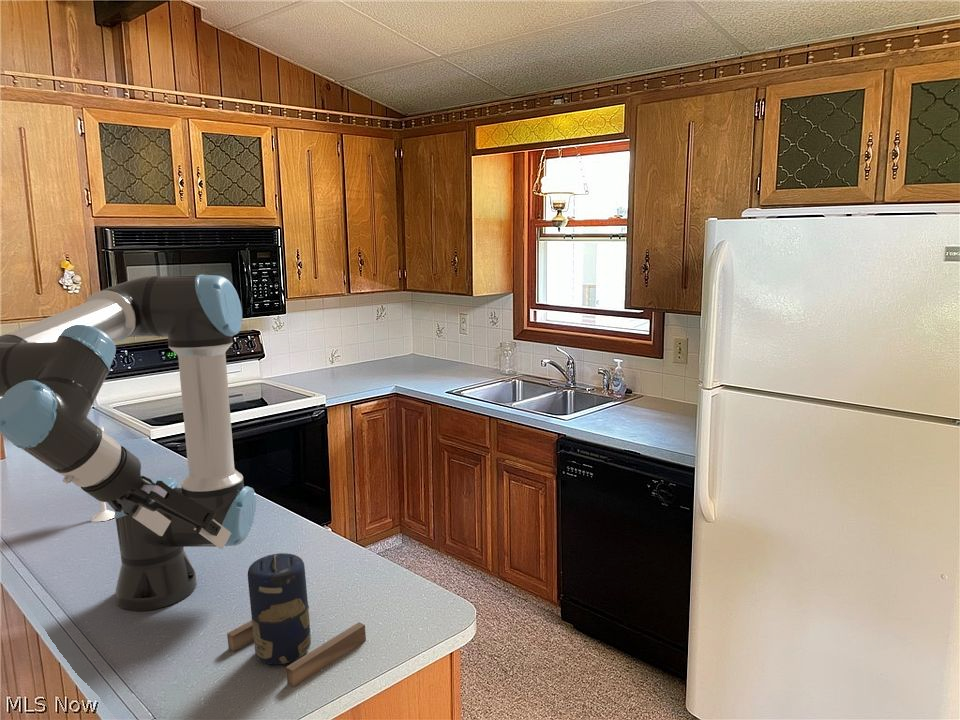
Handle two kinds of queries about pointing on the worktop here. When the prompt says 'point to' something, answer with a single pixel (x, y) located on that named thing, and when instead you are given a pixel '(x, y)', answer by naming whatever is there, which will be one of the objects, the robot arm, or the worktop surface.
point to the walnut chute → (311, 660)
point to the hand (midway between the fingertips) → (194, 534)
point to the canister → (279, 608)
